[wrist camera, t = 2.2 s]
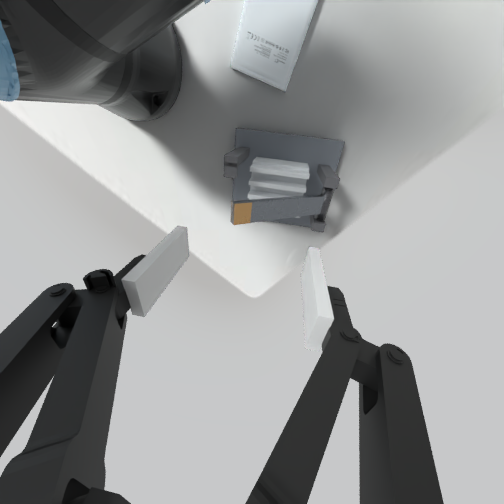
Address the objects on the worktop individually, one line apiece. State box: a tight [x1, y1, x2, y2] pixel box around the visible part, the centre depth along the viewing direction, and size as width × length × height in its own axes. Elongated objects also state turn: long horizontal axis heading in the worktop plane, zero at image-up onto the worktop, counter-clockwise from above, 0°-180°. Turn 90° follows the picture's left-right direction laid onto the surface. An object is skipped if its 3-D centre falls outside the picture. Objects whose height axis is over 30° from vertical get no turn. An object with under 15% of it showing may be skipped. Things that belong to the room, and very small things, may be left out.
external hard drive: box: [230, 0, 318, 92], centre depth 26 cm, size 2×8×12 cm
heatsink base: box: [224, 128, 345, 232], centre depth 32 cm, size 16×14×10 cm
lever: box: [231, 187, 334, 225], centre depth 26 cm, size 14×4×1 cm
